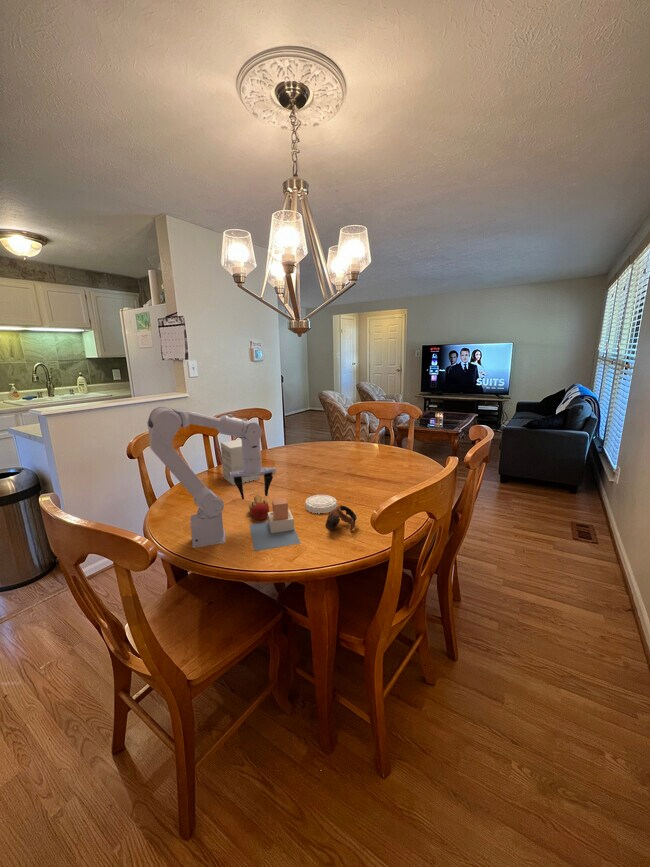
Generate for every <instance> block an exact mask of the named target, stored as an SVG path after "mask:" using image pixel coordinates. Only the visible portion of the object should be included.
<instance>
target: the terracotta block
mask: <svg viewBox="0 0 650 867" xmlns="http://www.w3.org/2000/svg"><path fill="white" fill-rule="evenodd" d="M271 501H272V502H271V504H272V505H271V506H272V512H273V518H274V521H277V520H283V519H288V509H289V506H288V505H289V502H288V501H287V498H286V497H279V498H274V499H273V498H272V500H271Z"/></svg>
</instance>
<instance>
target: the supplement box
mask: <svg viewBox="0 0 650 867" xmlns="http://www.w3.org/2000/svg"><path fill="white" fill-rule="evenodd" d="M220 452H221V454H220V455H221V466H222V475H223V476H222V477H224V478H223V479H224V480H226V481H227V482H228V483H229V484H230V485H232V486H236V484H235V482H234V479H232V480H230V472H234V471H239V470H243V469H244V467H243V454H242V440H241V439H240V438H239V439H233V440H228V441H220ZM260 476H261V475H259V476H253V477H242V484H244V483H245V482H246V483H250V482H254V481H258V480H260V479H261V477H260ZM253 480H254V481H253ZM249 481H250V482H249ZM246 483H245V484H246Z"/></svg>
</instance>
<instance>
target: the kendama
mask: <svg viewBox="0 0 650 867" xmlns="http://www.w3.org/2000/svg"><path fill="white" fill-rule="evenodd" d="M253 500H254V502H252V501H250V502H248V508H249V513H250V516H252V517H253V519H255V520H258V521H262V520H265V519H266V518H268V512H270V507H269V501H268V499H265V498H264V499H263V500H262V496H261V495H260V494H256V495H254V497H253Z"/></svg>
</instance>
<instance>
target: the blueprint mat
mask: <svg viewBox="0 0 650 867" xmlns="http://www.w3.org/2000/svg"><path fill="white" fill-rule="evenodd" d="M249 529H250V530H249V531H250V535H251V540H252V541H251V542H252V546H253V551H254V552H258V551H264V550H265V551H266V550H271V549H276V548H282V547H283V548H284V547H289V546H293V545H299V544H301V541H300V538H299V536H298V533H297V531H296V528H294V530H289V531H283V532H276V533H271V530H270V527H269V524H268V521H262V522H256V523H255V522H254V523H249Z"/></svg>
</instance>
